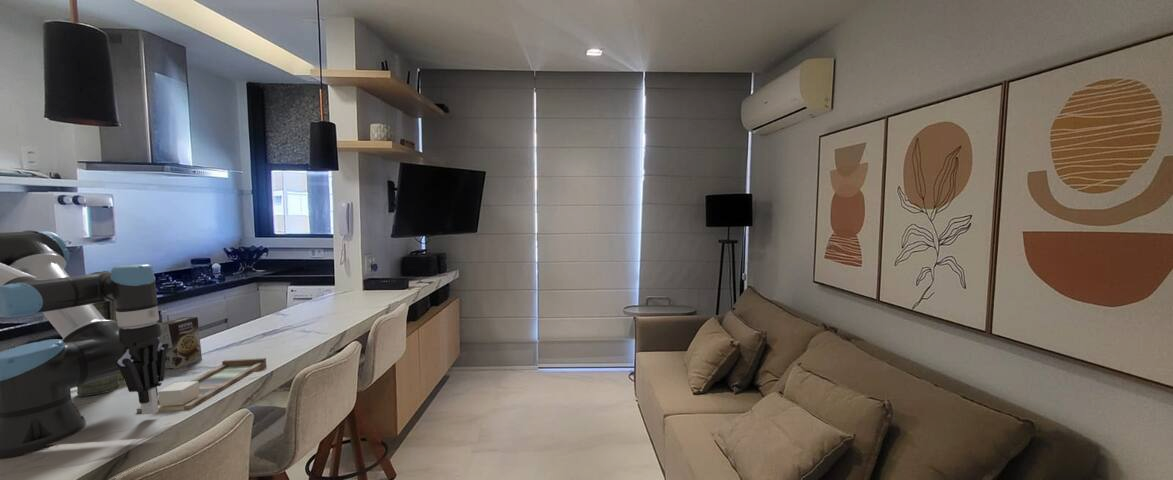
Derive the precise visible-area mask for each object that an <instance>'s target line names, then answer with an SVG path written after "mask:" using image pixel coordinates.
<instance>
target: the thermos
mask: <svg viewBox="0 0 1173 480" xmlns="http://www.w3.org/2000/svg"><path fill="white" fill-rule="evenodd" d="M93 305H94V306H95V308H96V309H97V310H98V311H99V312H100V314H101V315H102V316H103V317H104V318H105V320H113V321H116V322H117V318H116V308H115V301H106V302H100V303H94V304H93ZM119 380H121V379H120V375H119V374H118V375H114V376H111V377H108V378H104V379H101V380H97V381H94V382H91V383H87V384H84V385H81V386H77V392H76V395H78V396H92V395H98V394H99V395H100V394H104V393H108V392H111V391H115V390H117V389H118V388H119V387H120V381H119Z"/></svg>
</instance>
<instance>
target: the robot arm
mask: <svg viewBox="0 0 1173 480" xmlns="http://www.w3.org/2000/svg"><path fill="white" fill-rule="evenodd" d="M67 247H68V246H67V244H66V242H65V240H63V238H61V236H60V235H58V234H57V233H55V232H52V231H48V230H34V229H33V230H32V229H31V230H30V229H29V230H28V229H27V230H22V231H8V232H7V231H5V232H0V317H3V318H7V319H8V318H10V319H11V318H17V317H27V316H32V315H36V314H37V315H38V314H43V315H44V316H45V318H46V319H47V321H49V323H50V324H51V325H52V326H53V328H54V329H55V330H56V331H57V333H58V334H59V335H60V337H62V339H57V338H56V339H55V338H53V339H46V340H45V339H44V340H40V341H33V342H30V343H26V344H22V345H19V346H15V347H13V348H10V349H7V350H4V351H3V352H2V351H1V352H0V459H5V458H12V457H17V456H23V455H27V454H31V453H35V452H38V451H42V450H45V449H48V448H50V447H51V448H52V447H54V446H56V445H58V443H57V442H59V441H62V440H64V439H66V438H69V437H71V436H73V435H75V434H77V433H79V432H81V430H83V429H84V428H85V427H86V425H87V422H86V418H85V417H84V415H82V414H81V412H80V411H79V409H78V407H77V406H76V404H75V403H74V401H73V400H72V394H71V393H72V392H71V389H73V388H76V387H77V386H81V385H84V384H87V383H91V382H94V381H97V380H101V379H104V378H108V377H111V376H114V375H118V374H119V375H120V374H122V376H123V378H124V379H123V380H124V384H125V386H126V387H127V391H128V392H129V393H132V392H133V393H134V392H137V395H138V403H139V404H140V407H141V409H142V412H141V415H142V416H143V415H154V414H156V413H157V412H160V411H159V410H158V402H157V398H159V396H158V387H161V386H162V384H163V383H162V382H163V381H164V380H165V371H166V370H165V369H166V368H165V361H166V352H167V349H168V346H169V344H168V343H165V344H162V343H160V341H159V337H160V336H161V327H160V323H161V322H158V321H159V320H160V316H159V315H160V313H159V308H158V296H157V285H156V276H155V273H154V268H153V265H151V264H148V263H140V264H139V263H135V264H133V263H132V264H124V265H118V266H117V265H116V266H113V267H112V269H111V270H110V271H109V270H103V271H95V272H90V273H88V274H82V275H75V276H74V275H73V276H70V275H69V274H68V273H67V271H66V270H65V268H66V267H67V264H68V262H69V260H70V252H69V249H67ZM106 301H115V308H116V318H117V322H116V321H113V320H105V318H104V317H103V316H102V315H101V314H100V312H99V311H98V310H97V309H96V308H95V306H94V305H93V304H94V303H100V302H106ZM54 443H57V444H54Z"/></svg>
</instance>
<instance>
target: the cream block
mask: <svg viewBox="0 0 1173 480" xmlns="http://www.w3.org/2000/svg"><path fill="white" fill-rule="evenodd" d="M157 392H158V398H159V404H160V406H172V405H184V404H186V403H187V402H189V401H191V400H192V399H194V398H196V397H198V396H199V395H200V389H199V381H193V382H190V381H181V382H180V381H178V382H175V383H172V384H170V385H168V386H166V387H164V388H163V389H161V390H159V391H158V390H157Z"/></svg>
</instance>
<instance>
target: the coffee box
mask: <svg viewBox="0 0 1173 480" xmlns="http://www.w3.org/2000/svg"><path fill="white" fill-rule="evenodd" d="M159 323H160V327H161V336H160V337H158V339H159V341H160V343H162V344H165V343H168V344H169V346H168V349H167V352H166V361H165V369H169V368H173V370H176V369H179V368H180V369H181V368H182V367H185V366H188V365H191V364H194V363H197V362H199V361H202V360H203V357H202V356H203V355H202V346H201V337H200V327H199V317H197V316H187V317H186V316H185V317H179V318H175V319H172V320H167V321H162V322H159Z"/></svg>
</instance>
